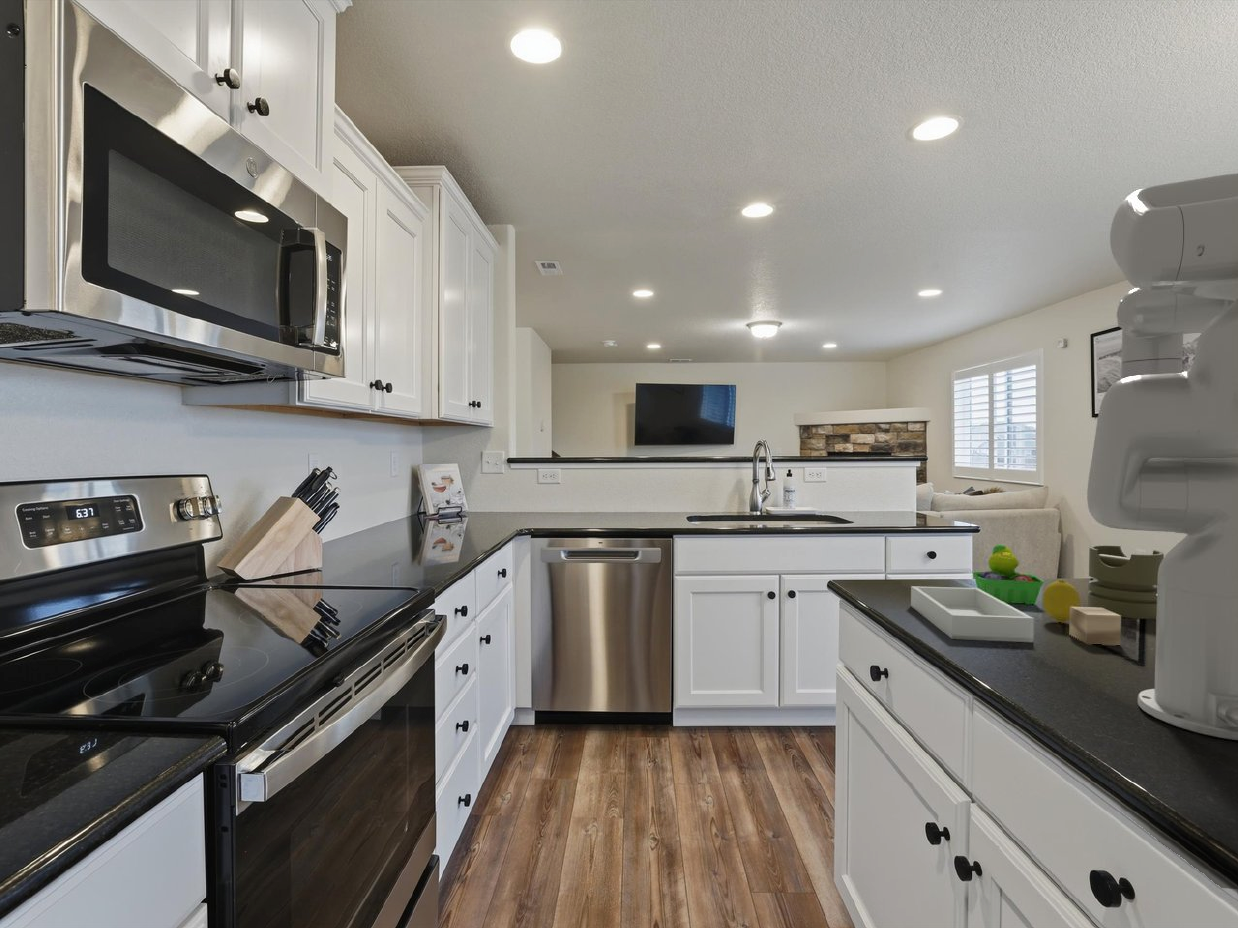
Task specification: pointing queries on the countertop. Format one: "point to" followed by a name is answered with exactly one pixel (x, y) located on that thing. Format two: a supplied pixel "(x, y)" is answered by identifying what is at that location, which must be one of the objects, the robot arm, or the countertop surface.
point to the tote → (972, 614)
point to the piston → (1124, 581)
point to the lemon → (1060, 600)
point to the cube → (1095, 625)
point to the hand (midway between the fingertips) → (1147, 479)
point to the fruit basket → (1007, 579)
